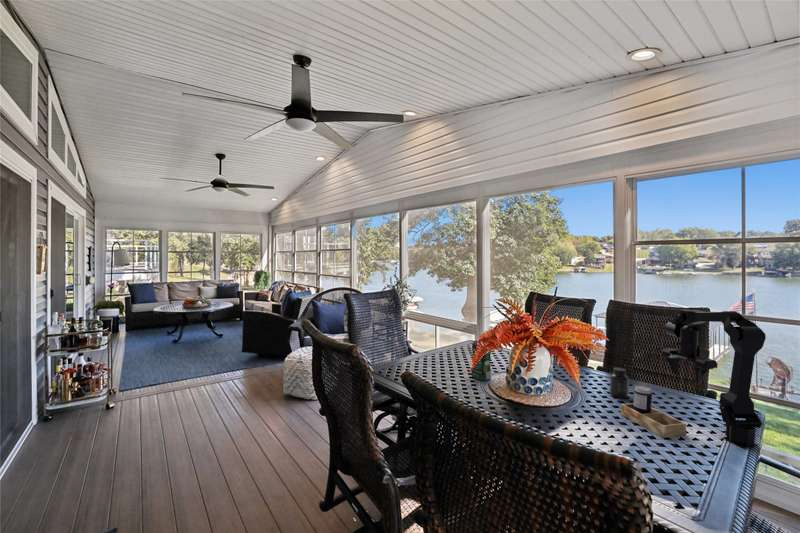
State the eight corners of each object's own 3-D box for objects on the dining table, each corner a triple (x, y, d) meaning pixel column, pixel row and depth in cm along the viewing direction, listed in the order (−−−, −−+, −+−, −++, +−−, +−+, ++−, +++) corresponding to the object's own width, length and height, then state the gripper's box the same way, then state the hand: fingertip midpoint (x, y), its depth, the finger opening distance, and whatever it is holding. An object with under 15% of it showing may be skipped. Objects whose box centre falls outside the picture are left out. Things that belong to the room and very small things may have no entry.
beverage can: (653, 422, 137) (654, 391, 136) (636, 421, 138) (637, 390, 137) (646, 416, 142) (647, 386, 142) (630, 414, 144) (631, 384, 143)
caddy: (686, 434, 128) (687, 423, 128) (662, 437, 126) (663, 426, 126) (641, 412, 146) (642, 402, 146) (620, 414, 144) (620, 404, 144)
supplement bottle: (608, 391, 167) (609, 365, 166) (625, 393, 164) (626, 367, 164) (611, 397, 160) (612, 370, 160) (629, 399, 158) (630, 372, 157)
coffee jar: (468, 376, 186) (469, 340, 185) (480, 373, 190) (480, 338, 189) (481, 382, 177) (482, 344, 176) (493, 379, 181) (494, 342, 180)
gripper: (729, 345, 139) (727, 385, 140) (682, 334, 157) (680, 370, 158) (706, 347, 137) (704, 388, 137) (661, 335, 155) (659, 371, 156)
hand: (686, 378), depth 147 cm, fingers open, 9 cm apart
